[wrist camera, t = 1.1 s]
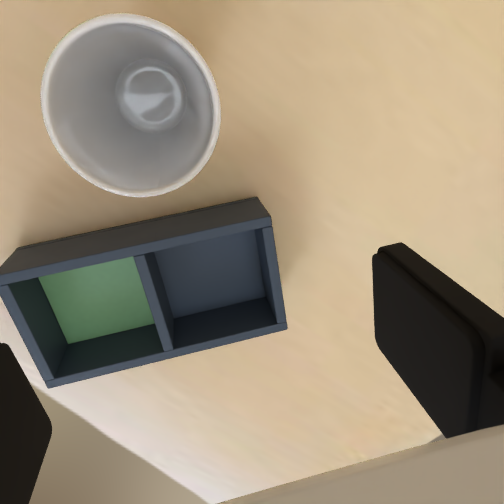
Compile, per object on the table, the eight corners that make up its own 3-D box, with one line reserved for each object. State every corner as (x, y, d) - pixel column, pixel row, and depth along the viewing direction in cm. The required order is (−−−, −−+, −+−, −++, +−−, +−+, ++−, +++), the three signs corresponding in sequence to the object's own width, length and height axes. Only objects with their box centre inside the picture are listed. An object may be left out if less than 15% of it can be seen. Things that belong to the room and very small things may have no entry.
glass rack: (17, 247, 31) (-10, 277, 26) (257, 196, 33) (271, 215, 28) (64, 348, 35) (47, 389, 31) (273, 298, 37) (288, 329, 33)
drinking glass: (171, 161, 30) (169, 229, 17) (86, 110, 28) (5, 141, 15) (218, 82, 29) (257, 87, 15) (132, 20, 26) (88, -39, 13)
